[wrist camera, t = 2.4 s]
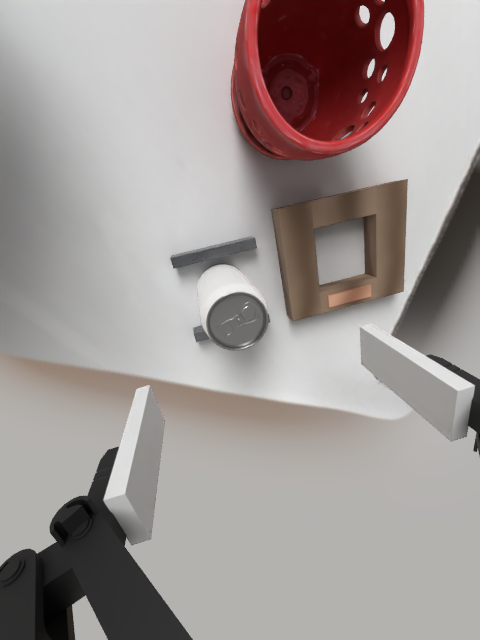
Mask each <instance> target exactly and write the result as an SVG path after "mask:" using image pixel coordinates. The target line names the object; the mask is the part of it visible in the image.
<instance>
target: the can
mask: <svg viewBox="0 0 480 640" xmlns="http://www.w3.org/2000/svg"><path fill="white" fill-rule="evenodd" d="M197 293H198V302H199V311H200V318H201V323H202V326H203V329H204V331H205V332H206V334H207V335H208V336H209V338H211V339H212V340H213V341H214V342H215V343H216V344H217V345H218V346H220V347H222V348H224V349H228V350H243V349H246V348H249V347H251V346H253V345H254V344H255V343H257V342H258V341H259V340H260V339H261V338H262V336H263V335H264V333H265V331H266V328H267V325H268V310H267V305H266V302H265V300H264V298H263V296H262V295H261V294H260V292H259V291H258V290H257V289H256V288H255V287H254V286H253V284H252V283H251V282H250V281H249V280H248V279H247V278H246V277H245V276H244V275H243V274H242V273H241V272H240V271H239V270H238V269H237V268H235V267H233V266H231V265H226V264H219V265H215V266H212V267H210V268H209V269H207V270H206V271H205V272H204V273H203V274H202V276H201V277H200V279H199V282H198V287H197Z"/></svg>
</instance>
